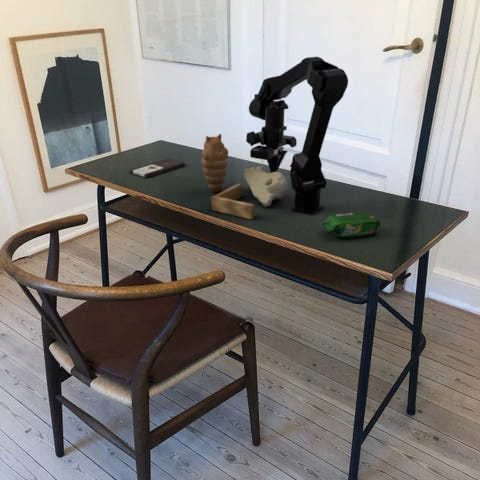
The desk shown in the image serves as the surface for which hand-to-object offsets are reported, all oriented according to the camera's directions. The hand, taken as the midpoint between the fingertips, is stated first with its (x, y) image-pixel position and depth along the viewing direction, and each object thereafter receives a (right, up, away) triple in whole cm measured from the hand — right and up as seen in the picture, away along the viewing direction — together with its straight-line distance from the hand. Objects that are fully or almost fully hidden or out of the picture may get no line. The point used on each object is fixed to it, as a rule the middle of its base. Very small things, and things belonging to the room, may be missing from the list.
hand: (273, 174), depth 166 cm
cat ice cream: (-18, -5, +3) cm, 19 cm away
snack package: (+19, -23, -25) cm, 39 cm away
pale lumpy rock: (-4, -9, -2) cm, 10 cm away
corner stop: (-9, -12, -8) cm, 17 cm away
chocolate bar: (-40, +9, +24) cm, 48 cm away
